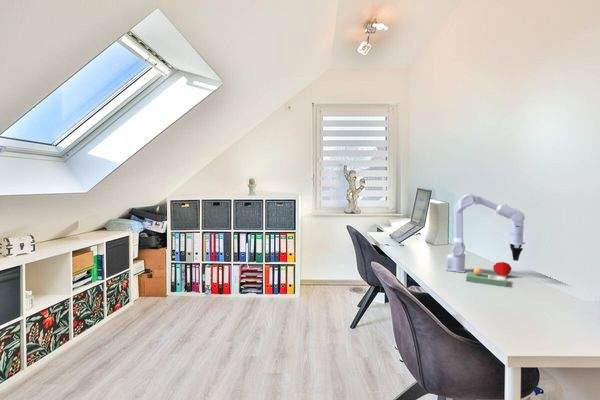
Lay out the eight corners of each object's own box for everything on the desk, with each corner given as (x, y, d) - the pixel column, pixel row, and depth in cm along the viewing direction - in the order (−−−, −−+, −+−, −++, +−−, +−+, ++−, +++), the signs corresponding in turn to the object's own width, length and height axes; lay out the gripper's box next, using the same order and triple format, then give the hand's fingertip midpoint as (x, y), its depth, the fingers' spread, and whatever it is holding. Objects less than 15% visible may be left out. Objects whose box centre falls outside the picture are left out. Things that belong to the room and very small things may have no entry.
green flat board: (466, 281, 187) (466, 276, 186) (467, 276, 196) (468, 271, 196) (506, 286, 178) (506, 281, 178) (506, 281, 188) (506, 276, 187)
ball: (473, 275, 188) (473, 268, 188) (473, 273, 192) (474, 266, 191) (481, 276, 186) (482, 269, 186) (482, 274, 190) (482, 267, 189)
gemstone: (516, 278, 188) (515, 266, 196) (500, 269, 189) (500, 258, 197) (505, 288, 194) (504, 276, 201) (490, 280, 195) (489, 268, 203)
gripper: (526, 236, 184) (525, 262, 185) (524, 232, 197) (523, 257, 198) (510, 235, 187) (509, 261, 188) (509, 231, 200) (508, 255, 201)
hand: (515, 259), depth 193 cm, fingers open, 7 cm apart
